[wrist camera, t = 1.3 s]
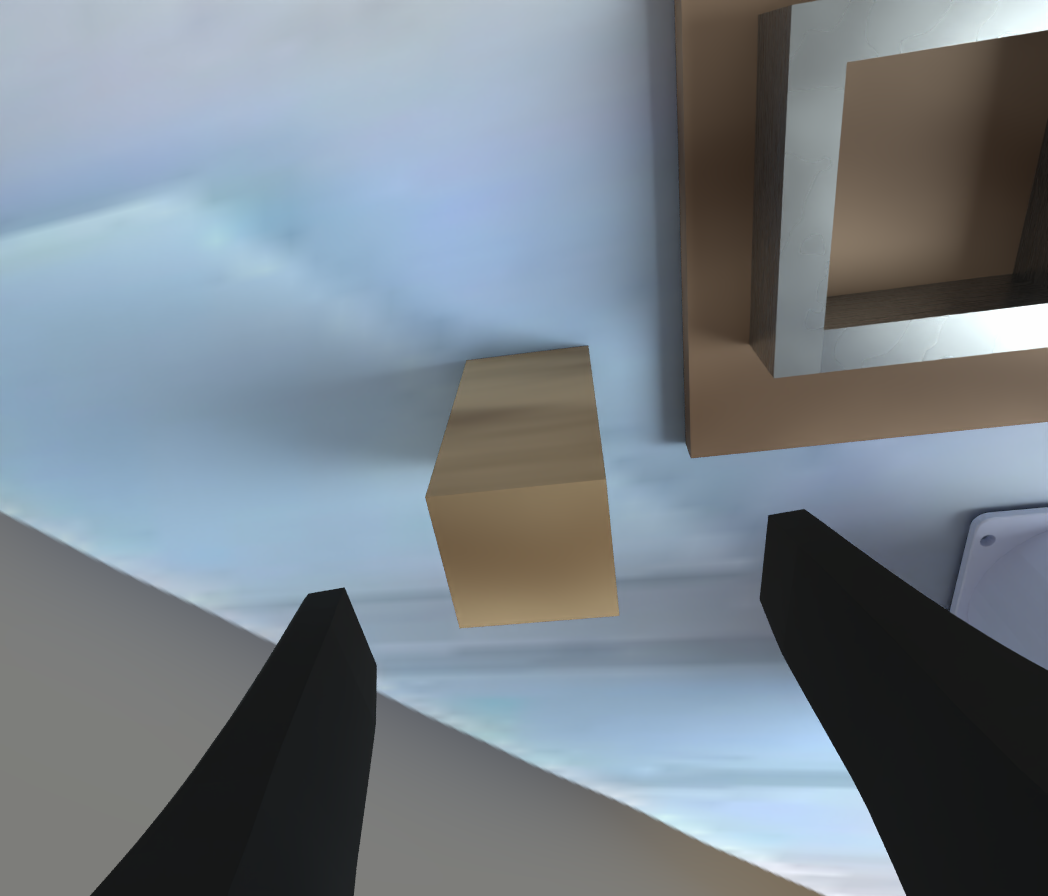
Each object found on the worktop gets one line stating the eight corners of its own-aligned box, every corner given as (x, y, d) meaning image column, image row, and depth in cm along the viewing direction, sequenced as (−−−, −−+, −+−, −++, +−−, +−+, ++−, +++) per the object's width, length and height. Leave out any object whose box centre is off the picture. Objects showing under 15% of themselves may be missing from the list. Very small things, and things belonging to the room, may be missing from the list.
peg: (599, 451, 23) (618, 615, 16) (487, 463, 23) (459, 628, 16) (588, 345, 21) (605, 479, 14) (466, 360, 21) (425, 497, 14)
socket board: (1057, 404, 21) (1141, 459, 18) (685, 443, 23) (706, 500, 19) (1256, -285, 13) (1461, -390, 10) (670, -167, 15) (700, -230, 12)
